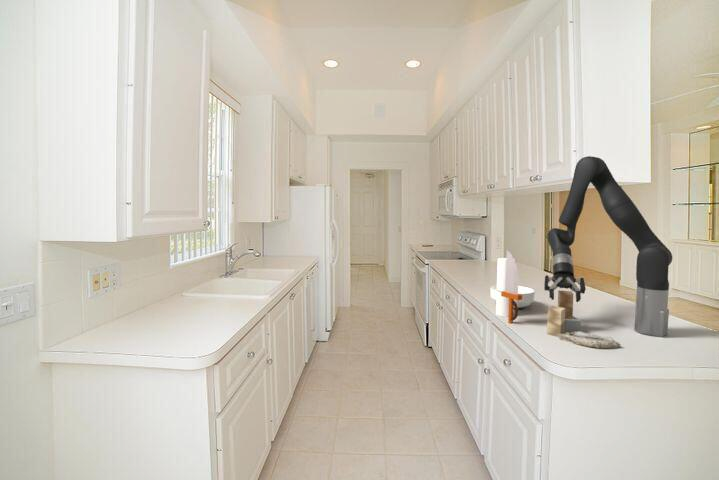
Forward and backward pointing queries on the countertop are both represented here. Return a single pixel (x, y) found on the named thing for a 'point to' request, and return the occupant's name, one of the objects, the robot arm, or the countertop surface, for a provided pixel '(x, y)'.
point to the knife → (511, 286)
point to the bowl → (524, 291)
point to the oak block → (555, 321)
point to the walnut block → (566, 302)
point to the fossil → (589, 340)
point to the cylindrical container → (501, 289)
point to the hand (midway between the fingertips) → (565, 299)
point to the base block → (572, 325)
